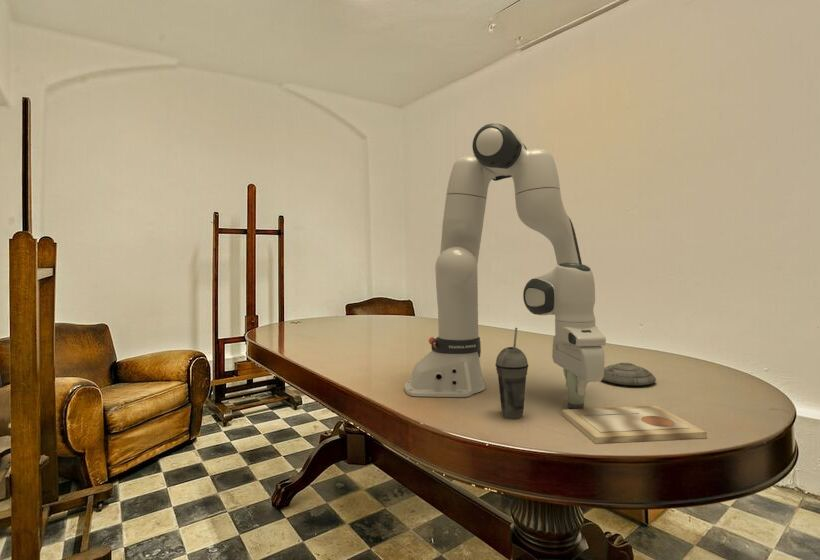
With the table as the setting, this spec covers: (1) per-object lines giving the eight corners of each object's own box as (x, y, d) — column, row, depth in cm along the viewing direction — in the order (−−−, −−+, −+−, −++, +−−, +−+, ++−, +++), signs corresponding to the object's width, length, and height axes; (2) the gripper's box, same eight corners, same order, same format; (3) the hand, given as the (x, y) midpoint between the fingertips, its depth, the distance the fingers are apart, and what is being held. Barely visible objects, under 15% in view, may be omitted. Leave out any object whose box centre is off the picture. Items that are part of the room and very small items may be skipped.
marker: (571, 411, 103) (571, 363, 102) (565, 406, 106) (564, 360, 106) (586, 410, 103) (586, 363, 103) (579, 405, 107) (579, 360, 106)
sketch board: (595, 443, 84) (595, 435, 84) (561, 415, 100) (561, 408, 100) (706, 438, 86) (706, 430, 86) (655, 410, 102) (655, 404, 102)
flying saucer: (605, 388, 121) (605, 368, 121) (592, 374, 136) (591, 357, 135) (665, 389, 118) (665, 369, 118) (644, 375, 133) (644, 357, 133)
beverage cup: (492, 411, 104) (490, 326, 103) (522, 409, 105) (521, 325, 104) (501, 422, 97) (499, 330, 96) (534, 420, 97) (532, 329, 97)
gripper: (545, 326, 114) (546, 379, 115) (580, 340, 94) (581, 405, 94) (569, 325, 115) (570, 378, 115) (610, 339, 94) (610, 403, 95)
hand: (575, 390), depth 105 cm, fingers open, 4 cm apart
